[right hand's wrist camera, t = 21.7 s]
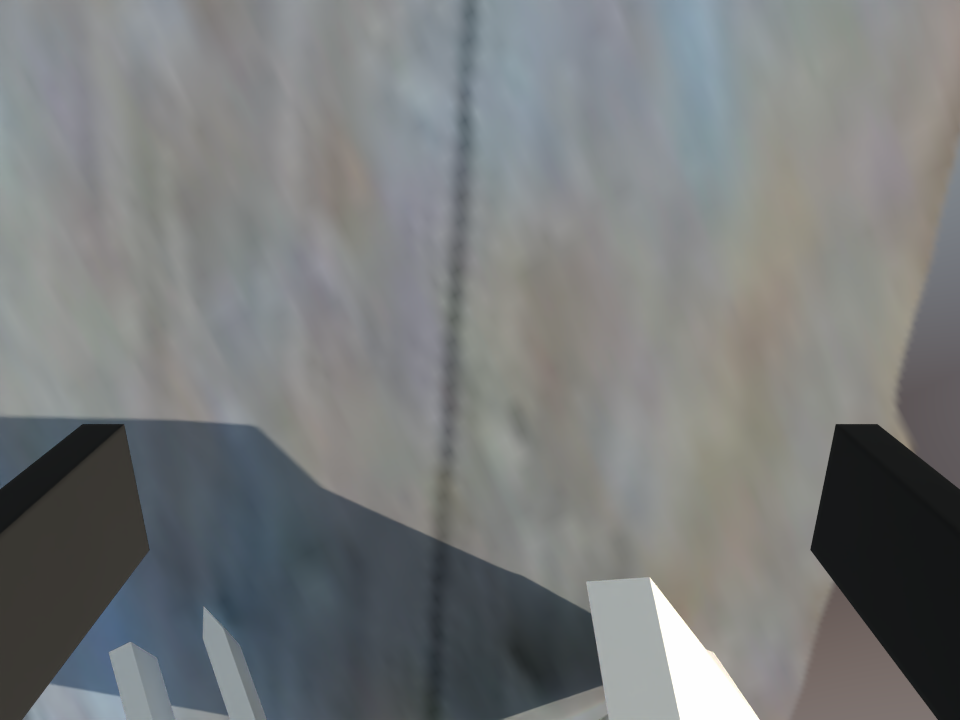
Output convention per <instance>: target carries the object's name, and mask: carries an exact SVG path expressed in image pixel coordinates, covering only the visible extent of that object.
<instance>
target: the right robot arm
mask: <svg viewBox="0 0 960 720" xmlns="http://www.w3.org/2000/svg"><path fill="white" fill-rule="evenodd" d="M148 551H149V545H148V540H147V535H146V530H145V525H144V520H143V515H142V510H141V505H140V500H139V495H138V490H137V485H136V481H135V476H134V471H133V466H132V461H131V456H130V451H129V446H128V441H127V436H126V431H125V426H124V424H82V425H81V426H80V427H78V428H77V429H76V430H75V431H73V432H72V433H71V434H70V435H68V436H67V437H66V438H65V439H63V440H62V441H61V442H60V443H58V444H57V445H56V446H55V447H53V448H52V449H51V450H49V451H48V452H47V453H46V454H44V455H43V456H42V457H41V458H39V459H38V460H37V461H36V462H34V463H33V464H32V465H31V466H29V467H28V468H27V469H25V470H24V471H23V472H22V473H20V474H19V475H18V476H17V477H15V478H14V479H13V480H12V481H10V482H9V483H8V484H7V485H5V486H4V487H3V488H1V489H0V720H22V719H23V718H24V716H25V715H26V714H27V712H28V711H29V710H30V708H31V707H32V706H33V705H34V703H35V702H36V701H37V699H38V698H39V697H40V695H41V694H42V693H43V691H44V690H45V689H46V687H47V686H48V685H49V683H50V682H51V681H52V679H53V678H54V677H55V675H56V674H57V673H58V671H59V670H60V669H61V667H62V666H63V665H64V663H65V662H66V661H67V659H68V658H69V657H70V655H71V654H72V653H73V651H74V650H75V649H76V647H77V646H78V645H79V643H80V642H81V641H82V639H83V638H84V637H85V635H86V634H87V633H88V631H89V630H90V629H91V627H92V626H93V625H94V623H95V622H96V621H97V619H98V618H99V617H100V615H101V614H102V613H103V611H104V610H105V609H106V607H107V606H108V605H109V603H110V602H111V601H112V599H113V598H114V597H115V595H116V594H117V593H118V591H119V590H120V589H121V587H122V586H123V585H124V583H125V582H126V581H127V579H128V578H129V577H130V575H131V574H132V573H133V571H134V570H135V569H136V567H137V566H138V565H139V563H140V562H141V561H142V559H143V558H144V557H145V555H146V554H147V553H148ZM811 551H812V553H813V554H814V555H815V557H816V558H817V559H818V561H819V562H820V563H821V565H822V566H823V567H824V569H825V570H826V571H827V573H828V574H829V575H830V577H831V578H832V579H833V581H834V582H835V583H836V585H837V586H838V587H839V589H840V590H841V591H842V593H843V594H844V595H845V597H846V598H847V599H848V601H849V602H850V603H851V605H852V606H853V607H854V609H855V610H856V611H857V613H858V614H859V615H860V617H861V618H862V619H863V621H864V622H865V623H866V625H867V626H868V627H869V628H870V630H871V631H872V633H873V634H874V635H875V637H876V638H877V639H878V641H879V642H880V643H881V645H882V646H883V647H884V649H885V650H886V651H887V653H888V654H889V655H890V656H891V658H892V659H893V660H894V662H895V663H896V664H897V666H898V667H899V669H900V670H901V671H902V673H903V674H904V675H905V677H906V678H907V679H908V680H909V682H910V683H911V684H912V686H913V687H914V688H915V690H916V691H917V692H918V694H919V695H920V697H921V698H922V699H923V700H924V702H925V703H926V704H927V706H928V707H929V709H930V710H931V711H932V712H933V714H934V715H935V716H936V718H937V719H938V720H960V489H958V488H957V487H956V486H955V485H953V484H952V483H951V482H950V481H948V480H947V479H946V478H945V477H943V476H942V475H941V474H940V473H938V472H937V471H936V470H935V469H933V468H932V467H931V466H929V465H928V464H927V463H926V462H924V461H923V460H922V459H921V458H919V457H918V456H917V455H916V454H914V453H913V452H912V451H911V450H909V449H908V448H907V447H905V446H904V445H903V444H902V443H900V442H899V441H898V440H897V439H895V438H894V437H893V436H892V435H890V434H889V433H888V432H887V431H885V430H884V429H883V428H882V427H880V426H879V425H878V424H836V426H835V431H834V436H833V441H832V446H831V451H830V456H829V461H828V466H827V471H826V476H825V481H824V485H823V490H822V495H821V500H820V505H819V510H818V515H817V520H816V525H815V530H814V535H813V540H812V545H811Z"/></svg>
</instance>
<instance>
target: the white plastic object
mask: <svg viewBox="0 0 960 720" xmlns="http://www.w3.org/2000/svg"><path fill="white" fill-rule="evenodd" d="M586 584H587V590H588V596H589V602H590V608H591V614H592V620H593V627H594V633H595V639H596V645H597V651H598V657H599V663H600V669H601V675H602V681H603V687H604V693H605V699H606V705H607V711H608V714H607V715H605V716H604V717H602V718H601V719H599V720H759V718H758V717H757V715H756V714H755V712H754V711H753V709H752V708H751V707H750V705H749V704H748V702H747V701H746V699H745V698H744V696H743V695H742V693H741V692H740V690H739V689H738V688H737V686H736V685H735V683H734V682H733V680H732V679H731V677H730V676H729V674H728V673H727V671H726V670H725V668H724V667H723V666H722V664H721V663H720V661H719V660H718V658H717V657H716V655H715V654H714V652H713V651H712V652H710V651H708V650H706V649H705V648H704V647H703V645H702V644H701V643H700V642H699V640H698V639H697V638H696V636H695V635H694V634H693V633H692V631H691V630H690V629H689V627H688V626H687V625H686V623H685V622H684V621H683V620H682V618H681V617H680V616H679V614H678V613H677V612H676V611H675V609H674V608H673V607H672V605H671V604H670V603H669V602H668V600H667V599H666V598H665V596H664V595H663V594H662V592H661V591H660V590H659V589H658V587H657V586H656V585H655V583H654V582H653V581H652V580H651V578H650V577H645V578H631V579H616V580H602V581H587V582H586ZM203 641H204V644H205V647H206V650H207V653H208V656H209V659H210V662H211V665H212V668H213V671H214V673H215V676H216V679H217V682H218V685H219V688H220V691H221V694H222V697H223V700H224V703H225V706H226V709H227V712H228V715H229V718H230V720H267V719H266V716H265V713H264V710H263V708H262V705H261V702H260V699H259V696H258V694H257V691H256V688H255V685H254V683H253V680H252V677H251V674H250V671H249V669H248V666H247V663H246V660H245V658H244V655H243V652H242V649H241V647H240V645H239V643H238V642H237V641H236V640H235V639H234V638H233V637H232V635H231V634H230V633H229V632H228V631H227V630H226V629H225V628H224V626H223V625H222V624H221V623H220V622H219V621H218V620H217V619H216V618H215V617H214V616H213V615H212V614H211V613H210V612H209V611H208V610H207V609H206V608H205V607H203ZM109 656H110V659H111V663H112V667H113V671H114V674H115V678H116V682H117V685H118V689H119V693H120V697H121V700H122V704H123V708H124V712H125V715H126V719H127V720H175V717H174V713H173V710H172V707H171V703H170V700H169V697H168V693H167V690H166V687H165V683H164V680H163V677H162V673H161V670H160V667H159V663H158V660H157V657H155V656H153V655H152V654H150V653H148V652H147V651H145V650H143V649H142V648H140V647H139V646H137V645H135V644H134V643H132V642H129V643H127V644H125V645H123V646H120V647H118V648H116V649H114V650H112V651H110V652H109Z"/></svg>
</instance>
